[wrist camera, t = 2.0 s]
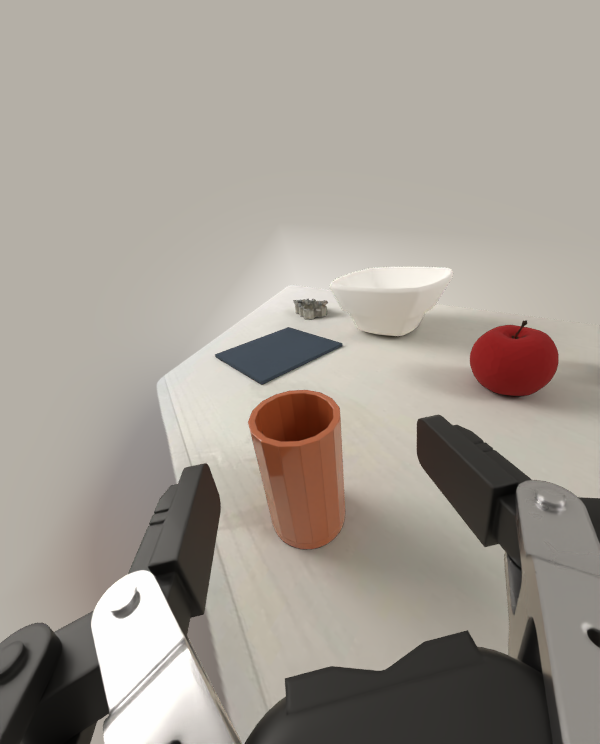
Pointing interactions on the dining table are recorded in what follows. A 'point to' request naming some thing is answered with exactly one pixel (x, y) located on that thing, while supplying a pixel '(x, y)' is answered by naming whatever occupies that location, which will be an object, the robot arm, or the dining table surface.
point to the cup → (301, 465)
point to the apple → (514, 360)
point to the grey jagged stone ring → (311, 308)
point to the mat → (276, 353)
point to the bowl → (390, 296)
